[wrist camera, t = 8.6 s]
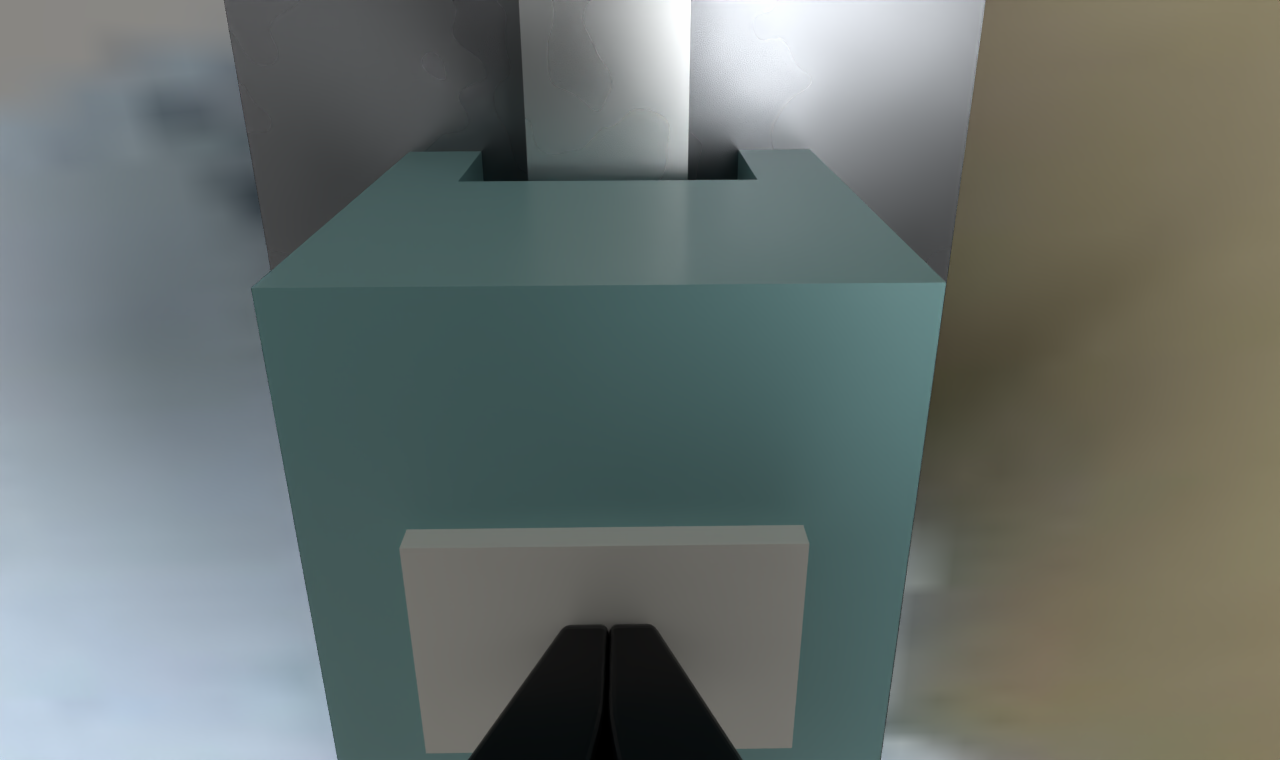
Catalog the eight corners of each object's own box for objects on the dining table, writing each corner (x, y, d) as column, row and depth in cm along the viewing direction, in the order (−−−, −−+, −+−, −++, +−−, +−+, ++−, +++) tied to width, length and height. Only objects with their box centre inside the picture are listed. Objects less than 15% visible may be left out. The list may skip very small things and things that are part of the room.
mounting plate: (858, 793, 19) (890, 903, 17) (382, 800, 19) (350, 912, 17) (1011, -404, 11) (1110, -497, 9) (186, -404, 11) (73, -500, 9)
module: (780, 564, 16) (869, 904, 10) (452, 567, 16) (353, 914, 10) (809, 149, 13) (957, 294, 7) (409, 151, 13) (236, 299, 7)
